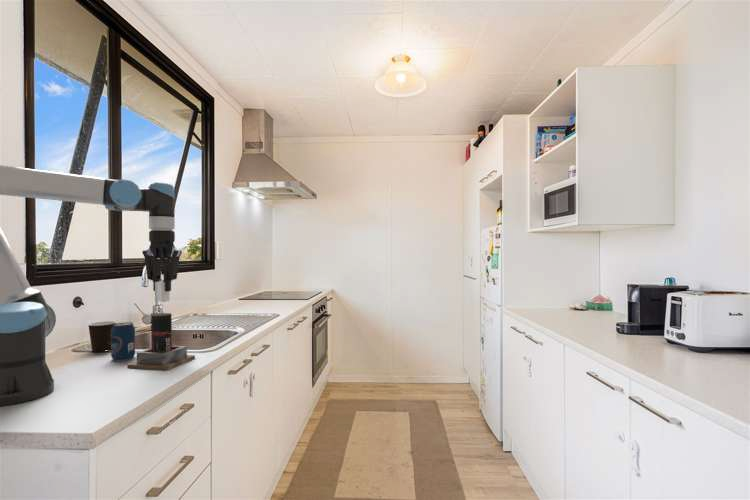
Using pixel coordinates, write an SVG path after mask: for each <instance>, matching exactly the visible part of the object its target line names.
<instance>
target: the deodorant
mask: <svg viewBox="0 0 750 500" xmlns="http://www.w3.org/2000/svg"><path fill="white" fill-rule="evenodd" d="M150 321H151V322H150V323H151V324H150V327H151V328H150V329H151V333H150V334H151V335H150V339H151V340H150V342H151V344H150V345H151V347H150V348H151V352H155V353H166V352H169V351H172V346H173V345H172V344H173V342H172V341H173V339H172V337H173V336H172V333H173V331H172V329H173V328H172V323H173V322H172V313H171V312H166V313H165V312H164V313H163V312H161V313H154V314H151V316H150Z"/></svg>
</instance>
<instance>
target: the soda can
mask: <svg viewBox="0 0 750 500" xmlns="http://www.w3.org/2000/svg"><path fill="white" fill-rule="evenodd" d="M110 354H111V359H112V360H113V361H116V362H121V361H123V362H124V361H128V360H132V359H133V358H134V356H135V355H136V328H135V325H134V323H133V322H116V324H114V325H113V328H112V330H111V350H110Z"/></svg>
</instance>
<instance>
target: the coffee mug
mask: <svg viewBox="0 0 750 500" xmlns="http://www.w3.org/2000/svg"><path fill="white" fill-rule="evenodd" d="M114 324H117V321H115V320H114V321H113V320H112V321H111V320H110V321H108V320H107V321H106V320H105V321H96V322H92V323H89V324H87V325H88V332H89V339H90V345H91V351H94V352H93V353H103V352H102V351H105V350H110V351H111V330H112V328H113V325H114Z"/></svg>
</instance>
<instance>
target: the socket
mask: <svg viewBox="0 0 750 500" xmlns="http://www.w3.org/2000/svg"><path fill="white" fill-rule="evenodd" d="M187 347H188V346H187V345H172V351H169V352H166V353H155V352H151V347H150V348H147V349H143V350H140V351H138V352H136V361H135V362H132V363H128V364H127V368H128V369H135V370H136V369H139V370H150V371H151V370H152V371H153V370H154V371H168V370H171V369H173V368H175V367H177V366H180V365H182V364H185V363H187V362H190V361H191V360H194V359H196V355H194V354H193V355H191V354H188V348H187Z"/></svg>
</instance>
